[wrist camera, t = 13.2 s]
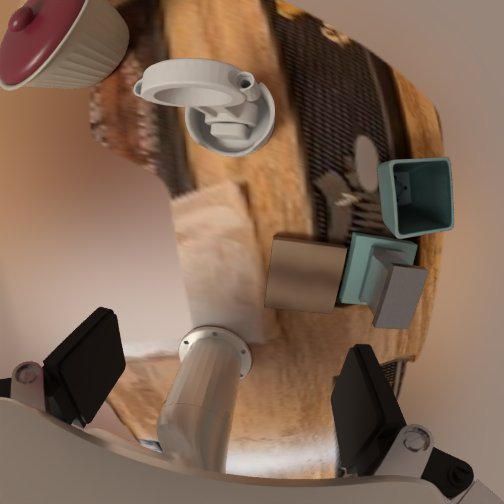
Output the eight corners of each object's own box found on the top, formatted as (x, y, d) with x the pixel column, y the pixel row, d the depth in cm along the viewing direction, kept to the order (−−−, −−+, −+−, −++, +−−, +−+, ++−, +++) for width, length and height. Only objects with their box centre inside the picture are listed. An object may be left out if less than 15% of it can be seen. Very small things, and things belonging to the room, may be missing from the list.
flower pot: (370, 223, 36) (396, 240, 27) (362, 160, 33) (388, 160, 25) (421, 215, 35) (454, 229, 26) (415, 156, 32) (450, 156, 23)
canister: (56, 113, 33) (-37, 107, 13) (71, 30, 28) (-2, -1, 8) (140, 91, 32) (41, 50, 12) (155, 1, 27) (92, -65, 7)
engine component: (270, 160, 34) (277, 89, 31) (268, 150, 15) (281, 9, 12) (190, 155, 35) (197, 86, 32) (104, 147, 15) (126, 21, 12)
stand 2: (395, 301, 39) (399, 307, 37) (338, 296, 39) (341, 302, 37) (411, 241, 36) (417, 245, 34) (352, 232, 36) (357, 235, 34)
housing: (371, 245, 34) (394, 265, 27) (401, 250, 34) (428, 270, 27) (357, 298, 37) (374, 328, 29) (387, 300, 37) (408, 329, 29)
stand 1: (329, 307, 40) (331, 314, 38) (264, 300, 40) (264, 307, 38) (343, 244, 37) (347, 248, 35) (273, 235, 37) (273, 239, 35)
